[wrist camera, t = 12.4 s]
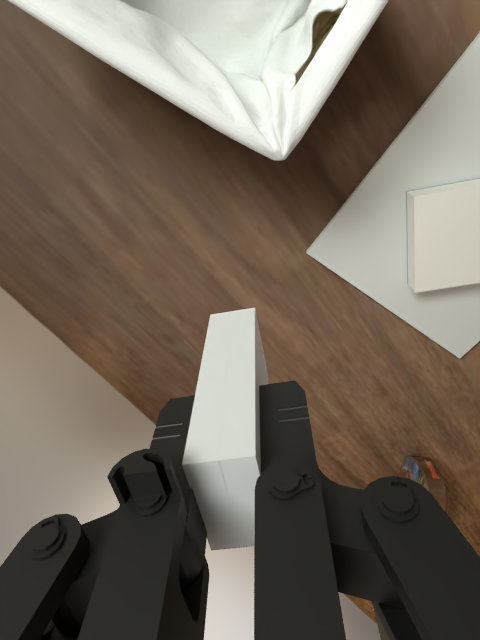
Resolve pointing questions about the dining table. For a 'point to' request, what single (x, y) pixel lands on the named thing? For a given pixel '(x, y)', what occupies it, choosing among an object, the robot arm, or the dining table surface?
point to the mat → (390, 211)
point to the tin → (425, 477)
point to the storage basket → (225, 56)
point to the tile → (443, 235)
